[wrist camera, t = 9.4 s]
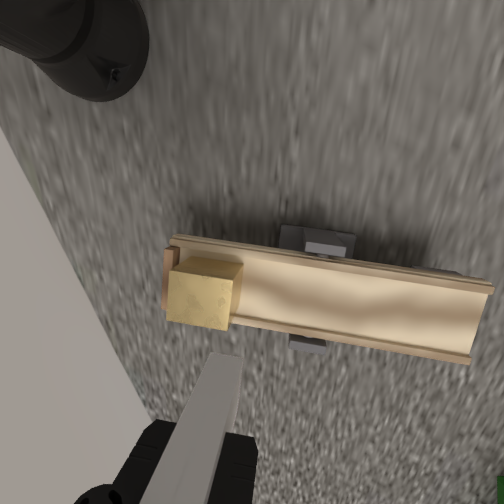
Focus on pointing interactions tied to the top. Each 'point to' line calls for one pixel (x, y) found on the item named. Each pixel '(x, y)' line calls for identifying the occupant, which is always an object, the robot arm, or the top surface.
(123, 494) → the robot arm
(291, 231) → the pivot stand
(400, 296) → the beam
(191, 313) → the rider
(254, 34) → the top surface
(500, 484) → the hardback book
